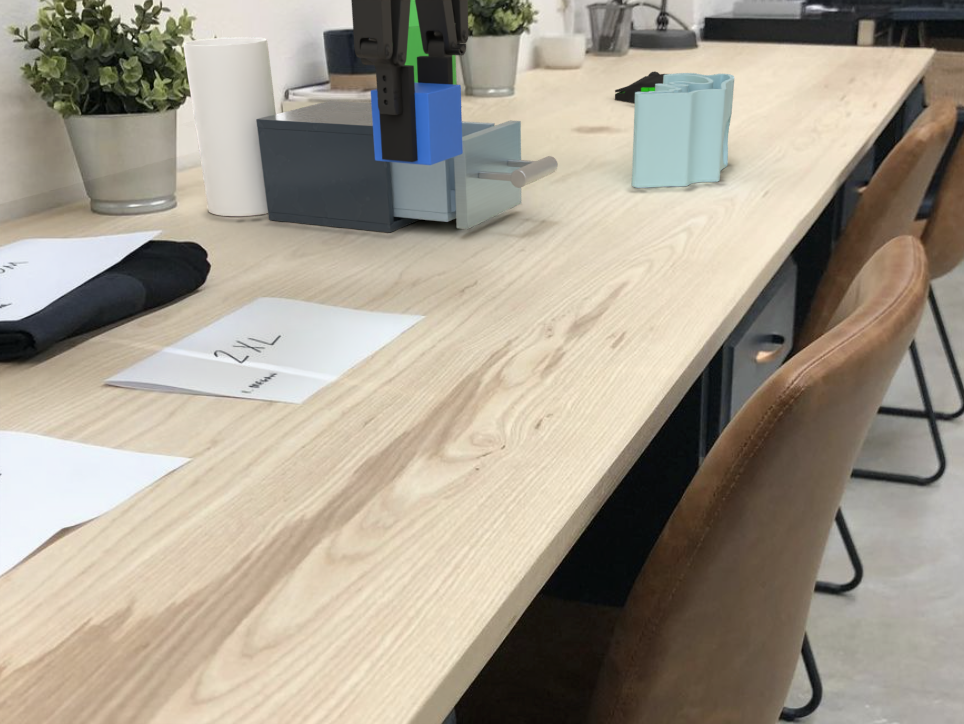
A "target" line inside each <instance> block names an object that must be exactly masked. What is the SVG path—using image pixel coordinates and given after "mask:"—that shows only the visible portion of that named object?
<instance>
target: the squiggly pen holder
mask: <svg viewBox="0 0 964 724" xmlns="http://www.w3.org/2000/svg"><path fill="white" fill-rule="evenodd" d="M665 74H666V75H663V84H655V91H649V92H635V103H634V108H633V109H634V111H633V139H632V163H631V165H632V166H631V167H632V168H631V186H632V187H633V188H639V189H640V188H641V189H644V188H662V187H663V188H665V187H667V188H668V187H688V186H690V185H692V184H695V183H716V182H720V180H721V172H722V171H723V169H725V168H727V167H728V165H729V163H728V162H729V133H730V131H729V130H730V125H731V120H732V113H733V103H734V102H733V101H734V91H735V89H734V88H735V76H734V75H733V74H731V73H715V74H701V73H696V72H675V73H665Z"/></svg>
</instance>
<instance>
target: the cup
mask: <svg viewBox="0 0 964 724" xmlns="http://www.w3.org/2000/svg"><path fill="white" fill-rule="evenodd" d="M183 52H184V59H185V65H186V66H185V67H186V72H187V81H188V87H189V93H190V99H191V107H192V112H193V119H194V125H195V132H196V139H197V145H198V152H199V159H200V165H201V166H200V167H201V171H202V172H201V173H202V178H203V179H202V180H203V185H204V193H205V198H206V205H207V211H208V212H209V213H210V214H212V215H217V216H220V217H221V216H222V217H251V216H259V215H266V214H268V209H267V201H266V193H265V185H264V177H263V169H262V161H261V153H260V145H259V137H258V129H257V122H256V119H259V118H263V117H267V116H271V115H275V114H277V113H276V103H275V102H276V101H275V95H274V86H273V78H272V77H273V76H272V69H271V59H270V51H269V43H268V39H267V38H264V37H256V36H255V37H253V36H236V37H235V36H233V37H231V36H230V37H215V38H214V37H213V38H204V39H203V38H201V39H196V40H194V39H193V40H188V41H185V42H183Z"/></svg>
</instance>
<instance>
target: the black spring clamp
mask: <svg viewBox="0 0 964 724" xmlns="http://www.w3.org/2000/svg"><path fill="white" fill-rule="evenodd" d="M666 74H667V73H660V72H658V71H651V72H650V73H649V74H648V75H645V76H643V77H641V78H639V79H638V80H636V81H634V82H632V83H631V84H629V85H627V86H624V87H620V88H618V89H614V100H615V101H619V102H626V103H631V104H635V92H649V91H655V84H663V75H666Z"/></svg>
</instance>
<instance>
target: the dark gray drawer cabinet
mask: <svg viewBox="0 0 964 724" xmlns="http://www.w3.org/2000/svg"><path fill="white" fill-rule="evenodd" d="M256 122H257V129H258V137H259V145H260V153H261V161H262V169H263V177H264V185H265V193H266V201H267V209H268V213H267V216H268V220H269V221H274V222H275V221H276V222H284V223H285V222H286V223H293V224H294V223H295V224H302V225H303V224H305V225H312V226H324V227H333V228H341V229H342V228H343V229H352V230H361V231H369V232H370V231H371V232H381V233H389V234H391V233H393V232H395V231H397V230H400V229H401V228H404V227H407V226H408V225H411V224H414V223H415V222H419V221H420V220H421V219H413V218H403V217H393V203H392V189H391V174H390V162H385V161H376V160H375V152H374V136H373V121H372V106H371V102H366V101H365V102H364V101H363V102H362V101H345V100H344V101H343V100H342V101H341V100H328V101H324V102H320V103H315V104H311V105H308V106H307V105H306V106H304V107H299V108H296V109H291V110H288V111H284V112H283V111H282V112H280V113H276V114H275V115H271V116H267V117H263V118H259V119H256Z"/></svg>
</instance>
